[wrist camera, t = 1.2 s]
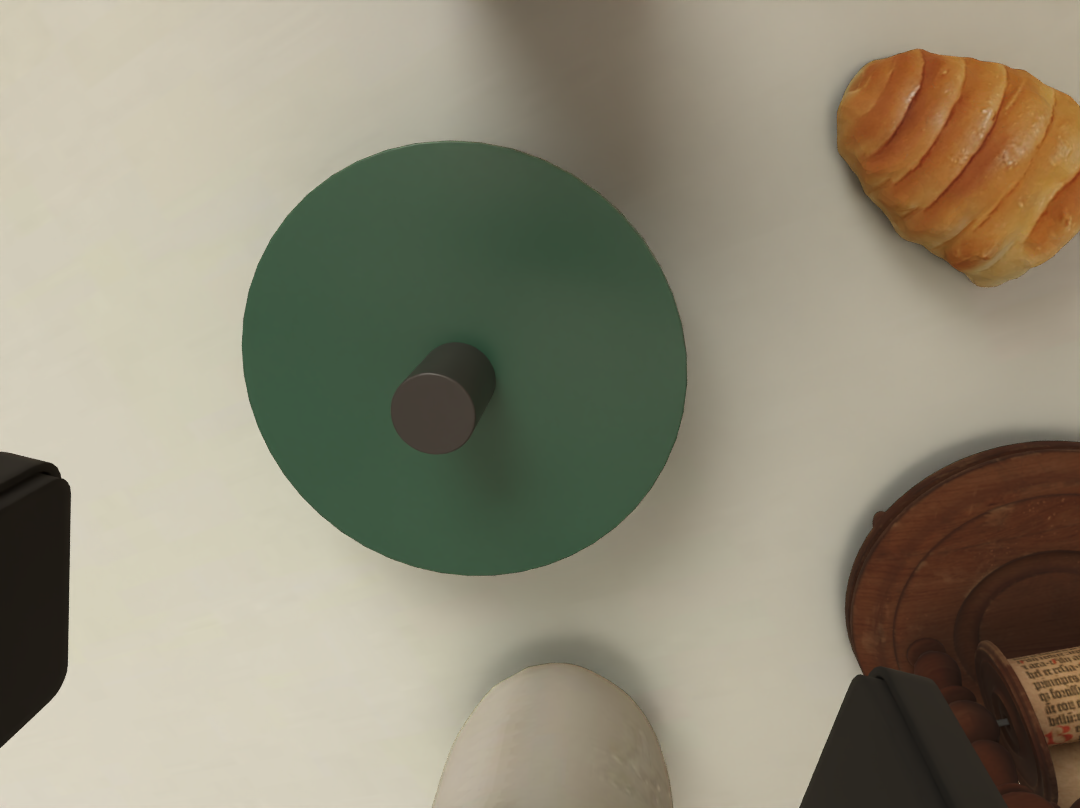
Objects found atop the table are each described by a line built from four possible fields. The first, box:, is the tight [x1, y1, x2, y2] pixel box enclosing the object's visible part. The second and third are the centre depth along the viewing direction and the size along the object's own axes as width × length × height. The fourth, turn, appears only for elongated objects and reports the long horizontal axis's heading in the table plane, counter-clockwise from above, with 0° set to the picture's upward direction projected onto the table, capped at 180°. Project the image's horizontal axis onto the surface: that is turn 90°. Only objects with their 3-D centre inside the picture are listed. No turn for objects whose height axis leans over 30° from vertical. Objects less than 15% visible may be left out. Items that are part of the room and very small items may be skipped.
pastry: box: [837, 49, 1080, 287], centre depth 28 cm, size 9×7×4 cm
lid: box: [242, 141, 687, 576], centre depth 27 cm, size 17×17×5 cm
